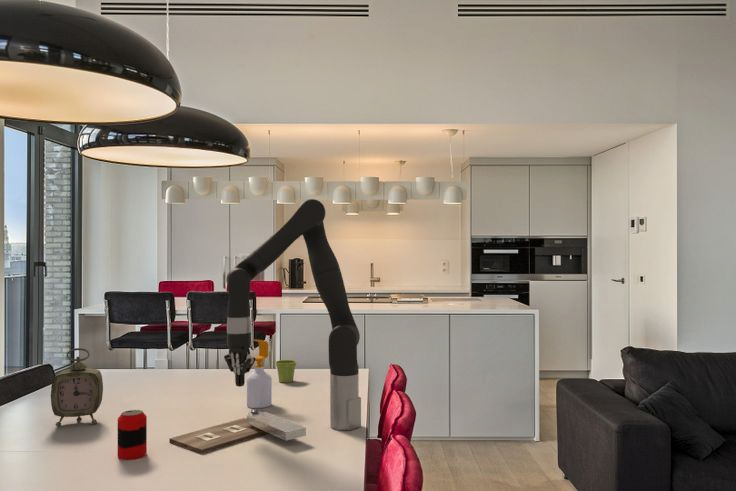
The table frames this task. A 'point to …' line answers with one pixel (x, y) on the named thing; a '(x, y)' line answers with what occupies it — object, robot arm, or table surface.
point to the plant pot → (286, 370)
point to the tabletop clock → (76, 391)
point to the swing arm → (275, 425)
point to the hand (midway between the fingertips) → (239, 385)
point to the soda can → (132, 435)
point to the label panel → (217, 436)
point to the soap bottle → (259, 381)
